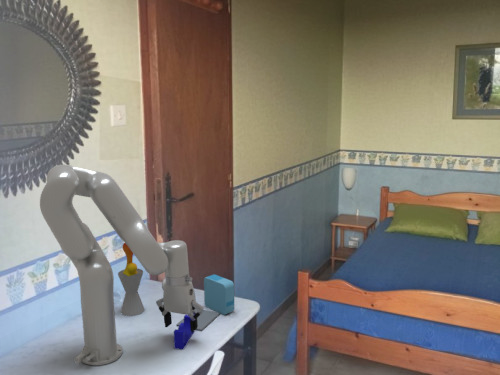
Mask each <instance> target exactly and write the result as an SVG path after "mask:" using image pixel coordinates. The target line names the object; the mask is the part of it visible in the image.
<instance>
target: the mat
mask: <svg viewBox="0 0 500 375" xmlns="http://www.w3.org/2000/svg"><path fill="white" fill-rule="evenodd" d="M194 310H195V311H196V312H197V311H198V310H197V309H194ZM191 313H192V312H191ZM220 315H221V314H220V313H219V312H216V311H214V310H208V309H203V311H202V314H201V315H200V316H199V317H198V318H197V323H198V327H197V329H196V330H195V331H199V332H202V331H204V330H205V329H206V328H207V327H208V326H210V324H212V323H213V322H214V321H215V319H216V318H218V317H219V316H220ZM181 323H184V318H182V319H181V320H180V321H178V322H177V324H176V325H175V326H176V327H179V325H180V324H181Z"/></svg>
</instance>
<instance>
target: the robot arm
mask: <svg viewBox="0 0 500 375" xmlns="http://www.w3.org/2000/svg"><path fill="white" fill-rule="evenodd" d="M75 196H80V197H86V198H90V199H91V200H92V201H93V203H94V204H95V206H96V207H97V208H98V210H99V211H100V212H101V213H102V215H103V217H104V218H105V219H106V221H107V222H108V223H109V225H110V226H111V227H112V229H113V230H114V231H115V233H116V234H117V235H118V237H119V238H120V239H121V240H122V241H123V242H124V243H126V244H127V246H128V247H129V248H130V250H131V251H132V252H133V256H134V257H135V258H136V259H137V261H139V263H140V265H141V266H142V267H143V269H144V270H145V271H146V272H147V274H149V275H151V276H160V275H162V274H165V277H166V280H165V281H166V282H165V284H164V291H163V293H162V294H163V297H162V298H159V299H157V300H155V304H156V305H157V307H158V310H159V311H160V312H161V315H162V317H163V321H164V327H165V328H168V327H170V326H171V325H172V324H173V322H172V321H173V320H172V313H174V314H180V315H188V316H189V317H190V318H191V320H190V329H191V332H195V331H197V330H196V329H197V327H198V323H197V318H198V317H199V316H200V315H201V314H202V311H203V310H205V309H204V308H205V307H204V306H203V305H201V304H200V303H198V302H197V299H196V293H195V292H196V291H195V288H194V285H193V282H192V281H193V277H191V276H190V270H189V269H190V268H189V258H188V255H189V254H188V245H187V243H186V242H185V241H184V240H179V239H177V240H170V241H167V242H158V241H157V240H156V239H155V237H154V236H153V234H152V233H151V232H150V230H149V229H148V227H147V226H146V224H145V222H144V220H143V219H142V217H141V216H140V214H139V212H138V210H136V208H135V207H134V206H133V204H132V202H131V201H130V200H129V199H128V197H127V196H126V194H125V193H124V191H123V190H122V189H121V187H120V186H119V184H118V183H117V182H116V181H115V179H113V177H112V176H111V175H110V174H108V173H104V172H101V171H98V170H91V169H87V168H83V167H78V166H74V165H69V164H57V165H55V166H53V167H51V168H50V169H49V171H48V172H47V175H46V183H45V185H44V187H43V188H42V191H41V194H40V197H39V207H40V209H39V210H40V213H41V214H42V217H43V219H44V220H45V222H46V224H47V225H48V227H49V230H50V231H51V233H52V234H53V236H54V238H55V239H56V242H57V243H58V245H59V247H60V249H61V250H62V252H63V254H64V255H65V256H67V257H68V258H69V259H70V260H71V262H72V264H73V265H74V267H75V268H76V271H77V274H78V280H79V288H80V289H79V290H80V308H81V317H82V318H81V320H82V329H83V330H82V331H83V342H84V344H83V345H84V346H82V348H81V349H82V350H81V352H80V353H79V355H76V356H75V357H74V359H73V360H74V362H75V364H80V363H81V362H82V363H83V364H85V365H89V366H104V365H107V364H111V363H113V362H114V361H117V360H118V359H119V358H121V356H122V354H123V347H122V346H121V344H119V343H118V342H117V328H116V314H115V313H116V312H115V311H116V310H115V300H114V299H115V298H114V285H115V284H114V282H115V281H114V272H113V269H112V268H113V267H112V265H111V264H110V262H109V259H108V258H107V256H106V254H105V253H104V251H103V249H102V247H101V245H100V243H99V242H98V241H97V239H96V237H95V236H94V233H93V232H92V231H91V229H90V227H89V226H88V224H86V223H84V222H83V220H82V219H81V218H80V216H79V214H78V212H77V210H76V209H75V206H74V205H73V204H74V203H73V199H74V197H75ZM165 277H164V278H165ZM194 309H197V310H198V311H197V312H196V311H195V310H194ZM191 312H192V313H191ZM193 315H194V316H193Z"/></svg>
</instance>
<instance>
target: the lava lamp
mask: <svg viewBox="0 0 500 375" xmlns="http://www.w3.org/2000/svg"><path fill="white" fill-rule="evenodd" d="M122 250H123V252H124V254H125V257H126V265H125V268H124V269H122V270H120V271H119V272H117V275H118V278H119V280H120V283H121V285H122V287H123V289H124V291H125V293H124V297H123V301H122V306H121V309H120V313H122V314H121V315H123V316H126V315H127V317H132V316H133V315H134V316H137V315H141V314H142V313H144V312H145V307H144V304H143V302H142V299H141V296H140V294H139V288H140V284H141V281H142V277H143V274H144V271H143V270H142V269H141V268H138V265H137V264H136V263H135V262H133V258H134V257H133V256H134V254H133V252H132V251H131V250H130V248H129V247H128V246H127V244H126V243H125V242H124V243H123V245H122Z"/></svg>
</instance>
